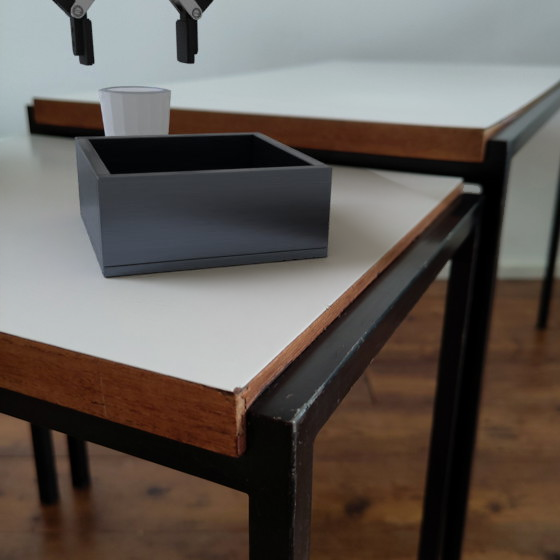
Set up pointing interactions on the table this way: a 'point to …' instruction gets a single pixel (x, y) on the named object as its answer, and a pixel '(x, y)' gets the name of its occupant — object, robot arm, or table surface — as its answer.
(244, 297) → the table surface
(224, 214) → the dark grey storage bin
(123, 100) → the white cup
